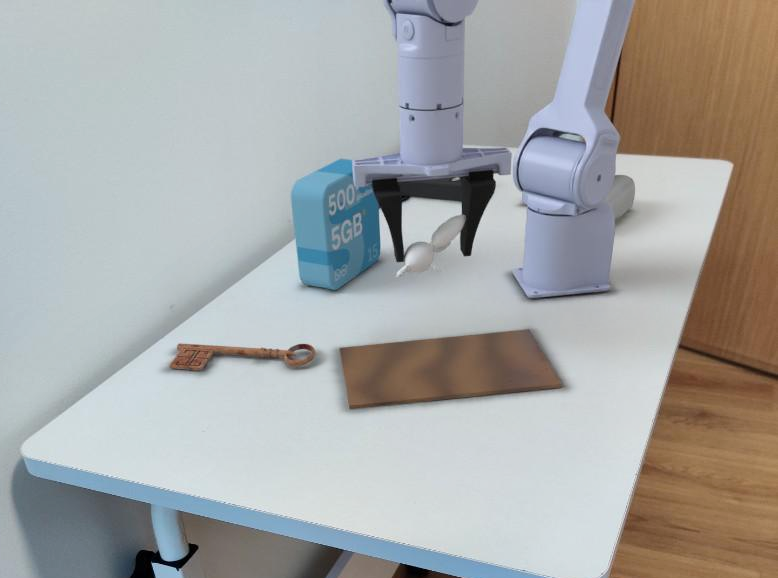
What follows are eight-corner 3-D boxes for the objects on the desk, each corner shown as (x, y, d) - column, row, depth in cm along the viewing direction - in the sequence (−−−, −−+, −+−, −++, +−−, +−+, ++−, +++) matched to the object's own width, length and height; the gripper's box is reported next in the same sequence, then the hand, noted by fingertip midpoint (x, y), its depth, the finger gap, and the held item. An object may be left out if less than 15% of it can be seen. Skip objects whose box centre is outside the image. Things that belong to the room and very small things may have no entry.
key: (164, 370, 86) (303, 380, 82) (162, 363, 85) (302, 372, 82) (187, 341, 90) (320, 349, 86) (185, 333, 89) (319, 341, 86)
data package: (331, 294, 98) (322, 188, 91) (299, 288, 100) (288, 183, 92) (381, 259, 106) (377, 158, 98) (351, 254, 108) (344, 155, 100)
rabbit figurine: (383, 270, 85) (442, 219, 85) (408, 301, 85) (466, 251, 86) (393, 257, 79) (457, 202, 79) (419, 290, 79) (482, 236, 80)
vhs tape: (483, 185, 127) (484, 171, 126) (465, 201, 122) (465, 187, 121) (398, 178, 132) (398, 165, 131) (377, 193, 127) (376, 179, 126)
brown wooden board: (529, 332, 88) (529, 329, 87) (561, 387, 78) (562, 383, 78) (339, 351, 87) (339, 347, 86) (349, 409, 77) (349, 405, 77)
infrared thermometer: (534, 202, 122) (636, 209, 115) (498, 229, 115) (604, 237, 107) (534, 169, 120) (638, 173, 112) (497, 194, 112) (606, 200, 105)
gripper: (353, 120, 70) (362, 277, 79) (522, 106, 71) (514, 264, 80) (346, 102, 76) (356, 251, 84) (504, 89, 77) (497, 238, 85)
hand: (432, 255), depth 82 cm, fingers closed on rabbit figurine, 6 cm apart
